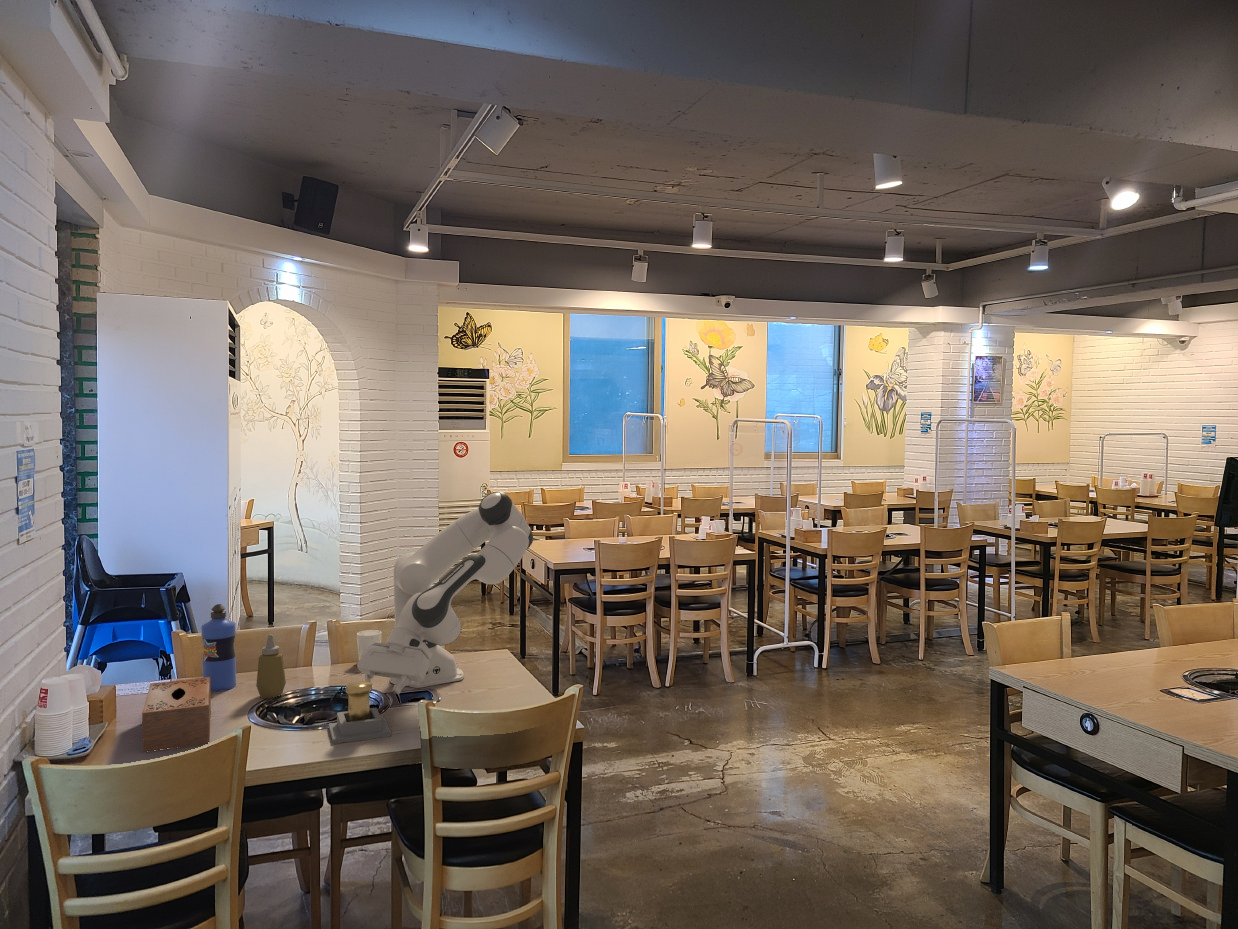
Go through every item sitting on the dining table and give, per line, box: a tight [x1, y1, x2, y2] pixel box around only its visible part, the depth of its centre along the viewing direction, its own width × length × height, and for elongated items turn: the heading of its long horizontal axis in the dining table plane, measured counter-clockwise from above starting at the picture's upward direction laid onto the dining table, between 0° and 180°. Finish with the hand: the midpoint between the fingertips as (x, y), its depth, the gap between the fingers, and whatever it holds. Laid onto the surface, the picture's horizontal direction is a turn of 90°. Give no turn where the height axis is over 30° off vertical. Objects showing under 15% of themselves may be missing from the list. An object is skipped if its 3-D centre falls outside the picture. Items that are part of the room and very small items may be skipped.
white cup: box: [356, 629, 382, 662], centre depth 283 cm, size 8×8×10 cm
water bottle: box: [200, 603, 237, 693], centre depth 255 cm, size 9×9×25 cm
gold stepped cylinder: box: [345, 681, 373, 722], centre depth 219 cm, size 6×6×11 cm
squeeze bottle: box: [255, 634, 287, 699], centre depth 247 cm, size 8×8×18 cm
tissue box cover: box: [141, 677, 212, 753], centre depth 219 cm, size 26×14×10 cm, turn 25°
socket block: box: [328, 707, 392, 745], centre depth 219 cm, size 14×12×4 cm
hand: (380, 690), depth 227 cm, fingers open, 8 cm apart
